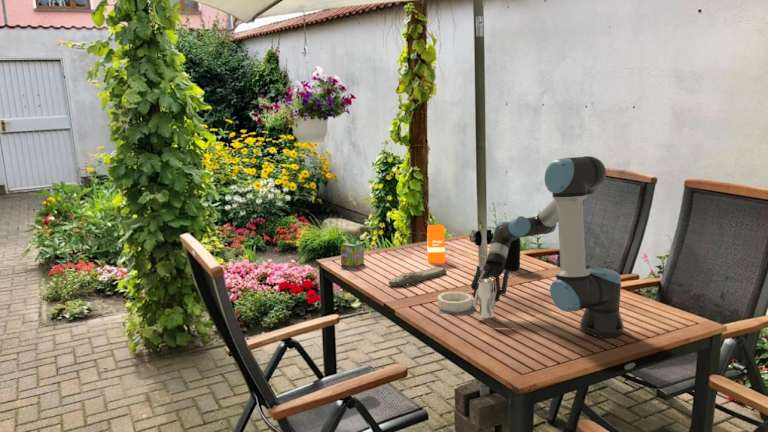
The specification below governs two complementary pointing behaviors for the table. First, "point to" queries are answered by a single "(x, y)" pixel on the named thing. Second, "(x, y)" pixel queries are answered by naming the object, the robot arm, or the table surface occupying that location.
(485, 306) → the beer glass
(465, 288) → the table surface
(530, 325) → the table surface
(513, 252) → the coffee jar
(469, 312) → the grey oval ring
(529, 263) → the table surface
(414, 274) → the elongated rock
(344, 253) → the green glass canister
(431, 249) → the orange juice
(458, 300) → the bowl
